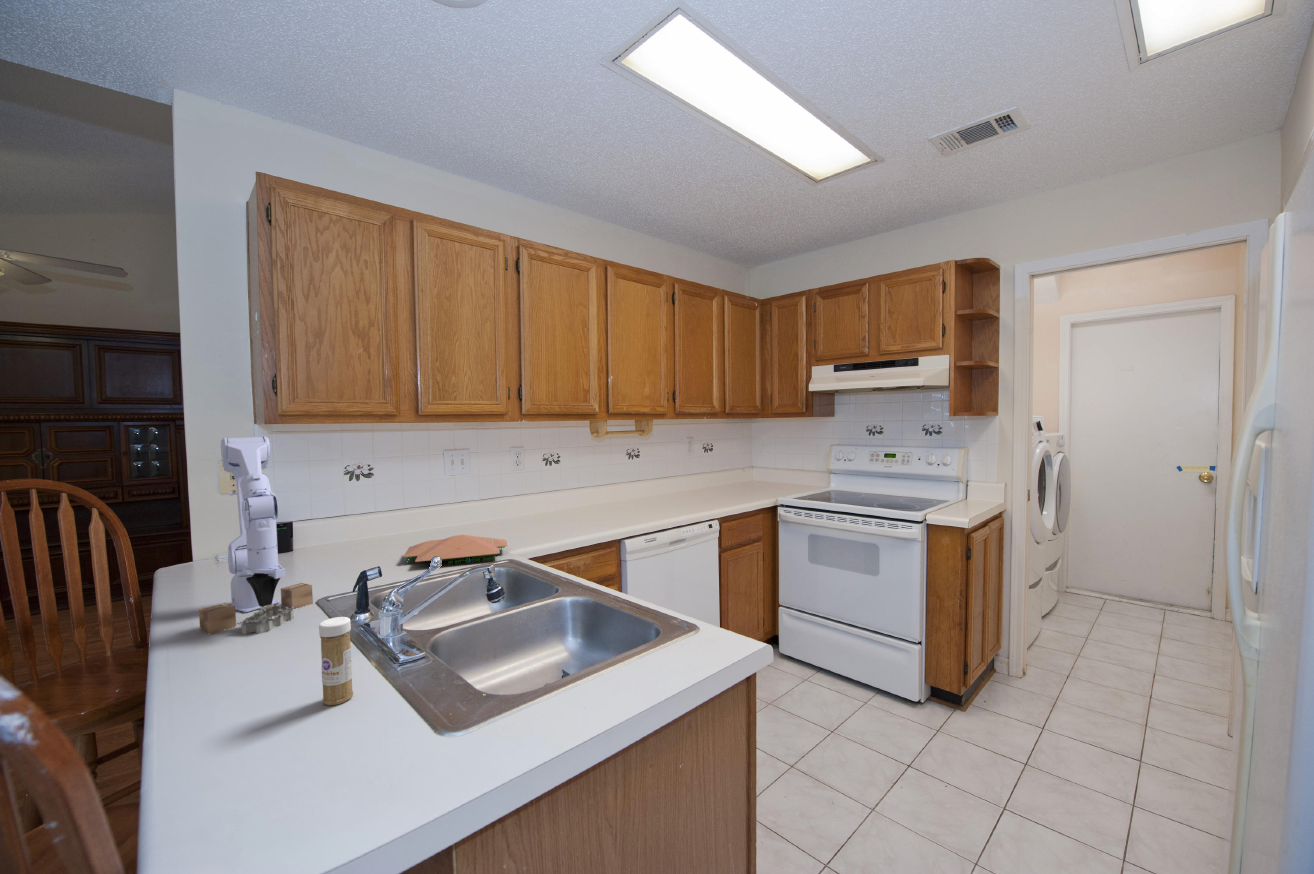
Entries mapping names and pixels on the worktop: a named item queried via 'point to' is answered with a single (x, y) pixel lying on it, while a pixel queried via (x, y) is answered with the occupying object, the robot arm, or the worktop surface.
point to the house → (455, 548)
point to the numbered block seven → (217, 618)
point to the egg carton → (266, 619)
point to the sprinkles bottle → (336, 660)
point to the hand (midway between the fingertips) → (265, 604)
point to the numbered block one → (296, 595)
